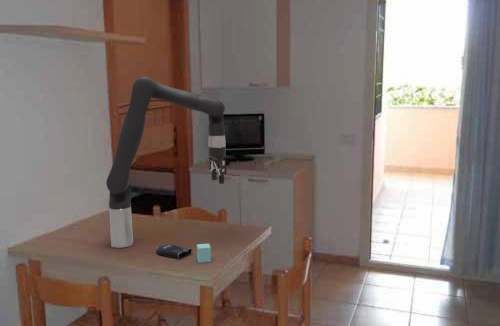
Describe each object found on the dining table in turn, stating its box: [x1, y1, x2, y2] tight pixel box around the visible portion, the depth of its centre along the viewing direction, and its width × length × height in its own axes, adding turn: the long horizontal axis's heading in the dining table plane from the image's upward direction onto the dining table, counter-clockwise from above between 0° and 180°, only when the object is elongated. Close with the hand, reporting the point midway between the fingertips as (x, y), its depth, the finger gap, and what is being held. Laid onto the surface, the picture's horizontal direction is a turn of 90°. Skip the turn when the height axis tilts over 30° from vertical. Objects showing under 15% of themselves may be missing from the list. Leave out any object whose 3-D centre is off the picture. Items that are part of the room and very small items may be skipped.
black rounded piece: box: [155, 243, 193, 260], centre depth 208 cm, size 9×6×15 cm
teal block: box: [196, 243, 212, 264], centre depth 199 cm, size 5×5×6 cm
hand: (217, 181), depth 221 cm, fingers open, 8 cm apart
